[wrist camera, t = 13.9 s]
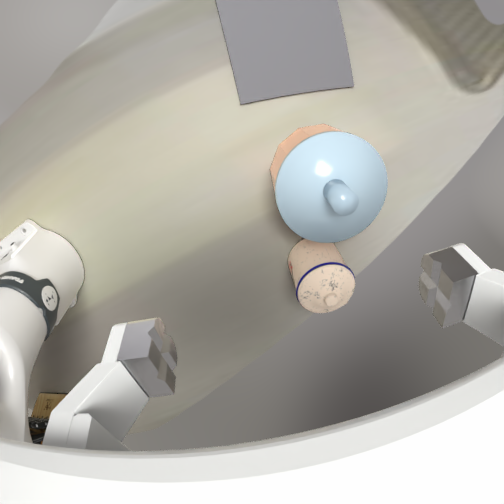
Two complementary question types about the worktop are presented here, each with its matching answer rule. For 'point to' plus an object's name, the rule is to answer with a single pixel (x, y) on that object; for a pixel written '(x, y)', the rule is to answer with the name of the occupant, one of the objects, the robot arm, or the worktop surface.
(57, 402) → the knife block
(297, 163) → the lid
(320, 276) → the teacup with lid
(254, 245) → the worktop surface
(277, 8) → the mat
